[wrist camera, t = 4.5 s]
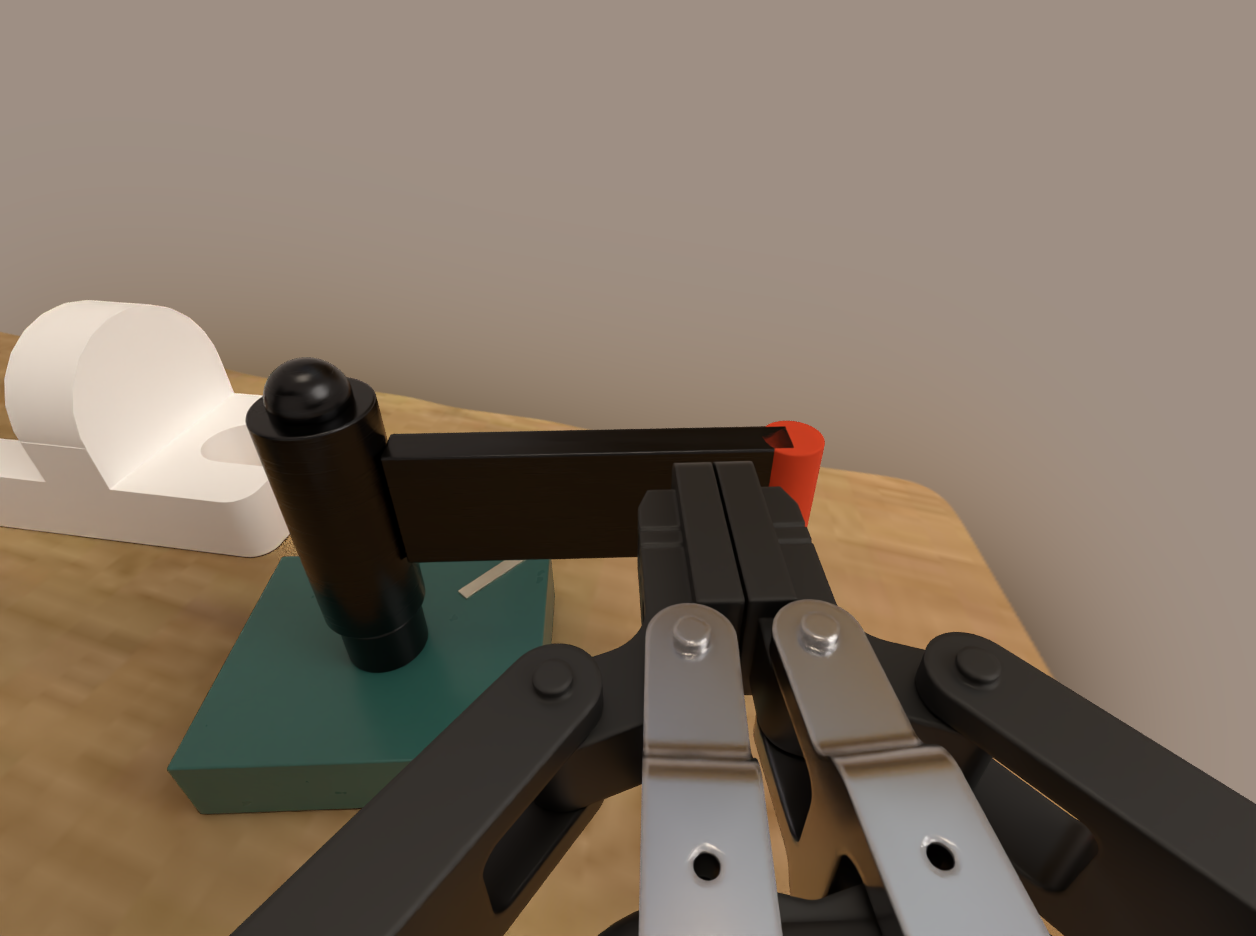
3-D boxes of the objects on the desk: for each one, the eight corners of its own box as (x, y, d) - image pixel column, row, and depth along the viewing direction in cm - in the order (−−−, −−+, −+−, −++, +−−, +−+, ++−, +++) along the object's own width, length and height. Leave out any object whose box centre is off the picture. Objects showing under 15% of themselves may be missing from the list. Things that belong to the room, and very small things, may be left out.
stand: (199, 815, 23) (138, 734, 20) (301, 601, 32) (267, 522, 29) (540, 802, 24) (528, 721, 21) (554, 594, 32) (547, 515, 29)
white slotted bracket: (104, 427, 44) (15, 266, 37) (359, 453, 41) (310, 285, 35) (-35, 521, 36) (-177, 339, 30) (267, 559, 34) (183, 370, 27)
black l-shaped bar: (309, 641, 23) (202, 395, 17) (341, 567, 26) (258, 335, 20) (803, 626, 24) (861, 382, 18) (781, 555, 26) (824, 326, 21)
